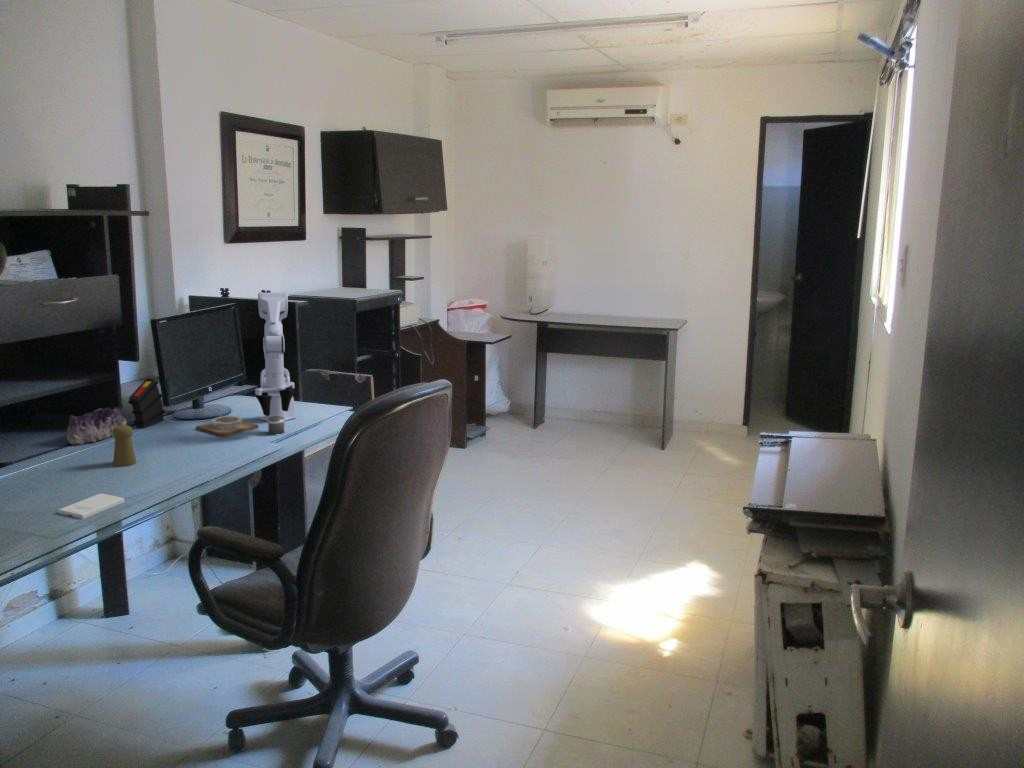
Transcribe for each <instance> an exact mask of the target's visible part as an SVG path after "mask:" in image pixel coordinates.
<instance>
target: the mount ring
mask: <svg viewBox="0 0 1024 768" xmlns="http://www.w3.org/2000/svg"><path fill="white" fill-rule="evenodd" d="M242 421H243V418H242V417H239V416H235V415H227V416H226V415H225V416H218V417H217V416H216V417H215V418H213V419H211V422H212V427H213V428H215V429H223V430H227V429H235V428H239V427H241V426H242V425H243V423H242Z"/></svg>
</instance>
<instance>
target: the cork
mask: <svg viewBox="0 0 1024 768" xmlns="http://www.w3.org/2000/svg"><path fill="white" fill-rule="evenodd" d="M133 433H134V429H133V428H132V426H130V425H128V424H127V425H121V426H117V427H115V428H114V429H113V436H112V437H114V451H113V461H112V464H113V466H114V467H120V468H121V467H130V466H134V465H136V464H137V458H136V454H135V450H134V446H133V441H132V436H133Z"/></svg>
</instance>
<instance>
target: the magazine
mask: <svg viewBox="0 0 1024 768" xmlns="http://www.w3.org/2000/svg"><path fill="white" fill-rule="evenodd" d="M158 384H159V382H158V380H157V381H156V380H155V378H146V379H145V380H144V381H143V382H142V383H141V384H140V385H139V386H138V387H137V389H135V390H134V391H133V393H131V395H130V396H129V397H128V402H127V403H128V404H129V405H131V406H132V411H131V414H133V415H134V419H135V420H133V424H135V428H139V429H140V428H141V429H145V428H146V429H147V427H150V426H153V425H155V424H157V423H160V422H163V421H164V420H165V419H164V418H165V417H164V414H165V413H166V411H165V409H163V403H162V397H163V394H162V393H160V390H159V387H158Z"/></svg>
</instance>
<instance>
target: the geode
mask: <svg viewBox="0 0 1024 768" xmlns="http://www.w3.org/2000/svg"><path fill="white" fill-rule="evenodd" d="M123 414H124V410H123V409H122V408H121V407H118V406H115V407H113V409H112V407H111V406H109V407H108V406H107V407H105V408H102V407H101V408H98V409H95V410H94V411H92V412H88V413H85V414H81V416H74V415H73V414H70V415H69V417H68V419H69V422H68V426H67V430H66V435H67V436H66V437H67V439H66V441H67V440H68V441H69V442H70V443H71V445H70V446H72V447H75V446H77V447H78V446H84V445H90V444H91V445H92V444H95V442H98V441H101V440H104V439H109V438H111V437H114V436H113V429H114V428H115V427H117V426H121V425H127V426H128V422H127V418H125V417H124V415H123ZM68 441H67V442H68Z"/></svg>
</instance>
